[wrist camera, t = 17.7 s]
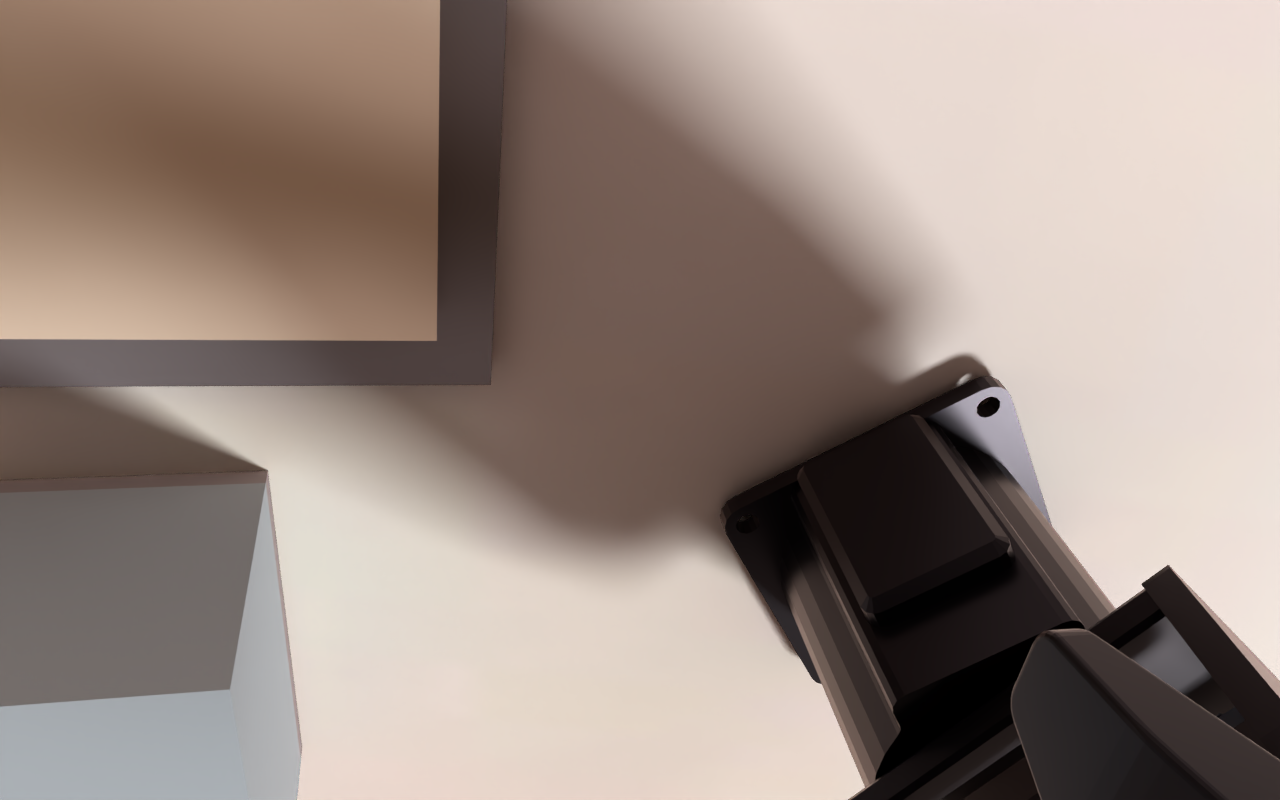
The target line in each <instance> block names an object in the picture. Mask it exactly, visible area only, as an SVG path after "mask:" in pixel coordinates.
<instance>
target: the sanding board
mask: <svg viewBox="0 0 1280 800" xmlns="http://www.w3.org/2000/svg"><path fill="white" fill-rule="evenodd" d="M506 12H507V0H0V387H111V386H323V385H491V364H492V341H493V317H494V294H495V270H496V247H497V223H498V200H499V176H500V153H501V129H502V106H503V82H504V59H505V35H506Z"/></svg>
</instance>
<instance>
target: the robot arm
mask: <svg viewBox="0 0 1280 800" xmlns="http://www.w3.org/2000/svg"><path fill="white" fill-rule="evenodd" d="M988 397H990V399H989V401H988V402H986V403H985V404H984V405H982V406H978V405H979V403H980V402H981V401H982V400H984V399H985V398H988ZM746 515H752V517H750V518H749V519H748V520H745V521H738V520H739V519H740V518H742V517H743V516H746ZM720 518H721V521H722V524H723V527H724V529H725V532H726V535H727V536H728V538H729V540H730V541H731V543H732V545H733V546H734V548H735V550H736V551H737V553H738V555H739V556H740V558H741V560H742V561H743V563H744V565H745V566H746V568H747V570H748V572H749V573H750V575H751V577H752V578H753V580H754V582H755V583H756V585H757V587H758V588H759V590H760V592H761V593H762V595H763V597H764V598H765V600H766V602H767V603H768V605H769V607H770V608H771V610H772V612H773V613H774V615H775V617H776V618H777V620H778V622H779V624H780V625H781V627H782V629H783V630H784V632H785V634H786V635H787V637H788V639H789V640H790V642H791V644H792V645H793V647H794V649H795V650H796V652H797V654H798V655H799V657H800V659H801V660H802V662H803V664H804V665H805V667H806V669H807V671H808V672H809V674H810V676H811V677H812V679H813V680H814V681H815V682H817V683H820V684H822V685H823V688H824V690H825V693H826V695H827V697H828V700H829V702H830V704H831V707H832V709H833V712H834V714H835V716H836V719H837V721H838V723H839V726H840V728H841V731H842V733H843V735H844V738H845V740H846V743H847V745H848V747H849V750H850V752H851V754H852V757H853V759H854V762H855V764H856V766H857V769H858V771H859V773H860V776H861V778H862V781H863V783H864V785H865V788H864V789H862V790H861V791H860V792H858V793H857V794H855V795H854V796H853V797H851V798H850V799H848V800H1280V681H1279V680H1278V679H1277V678H1276V676H1275V675H1274V674H1273V673H1272V672H1271V671H1270V670H1269V669H1268V668H1267V667H1266V666H1265V665H1264V664H1263V663H1262V662H1261V661H1260V660H1259V659H1258V658H1257V656H1256V655H1255V654H1254V653H1253V652H1252V651H1251V650H1250V649H1249V648H1248V647H1247V646H1246V645H1245V644H1244V643H1243V642H1242V641H1241V640H1240V639H1239V638H1238V637H1237V636H1236V635H1235V634H1234V633H1233V632H1232V630H1231V629H1230V628H1229V627H1228V626H1227V625H1226V624H1225V623H1224V622H1223V621H1222V620H1221V619H1220V618H1219V617H1218V616H1217V615H1216V614H1215V613H1214V612H1213V611H1212V610H1211V609H1210V608H1209V607H1208V605H1207V604H1206V603H1205V602H1204V601H1203V600H1202V599H1201V598H1200V597H1199V596H1198V595H1197V594H1196V593H1195V592H1194V591H1193V590H1192V589H1191V588H1190V587H1189V586H1188V585H1187V584H1186V583H1185V582H1184V581H1183V579H1182V578H1181V577H1180V576H1179V575H1178V574H1177V573H1176V572H1175V571H1174V570H1173V569H1172V568H1171V567H1170V566H1169V565H1167V566H1166V567H1164V568H1163V569H1162V570H1160V571H1159V572H1157V573H1156V574H1155V575H1153V576H1152V577H1150V578H1149V579H1148V580H1146V581H1145V582H1143V583H1142V586H1143V587H1144V588H1145V589H1143V590H1142V591H1141V592H1139V593H1138V594H1136V595H1135V596H1134V597H1132V598H1131V599H1129V600H1128V601H1127V602H1125V603H1124V604H1122V605H1121V606H1120V607H1118V608H1117V609H1115V607H1114V606H1113V605H1112V603H1111V602H1110V601H1109V600H1108V598H1107V597H1106V596H1105V594H1104V593H1103V592H1102V590H1101V589H1100V588H1099V587H1098V585H1097V584H1096V583H1095V581H1094V580H1093V579H1092V577H1091V576H1090V575H1089V574H1088V572H1087V571H1086V570H1085V568H1084V567H1083V566H1082V565H1081V563H1080V562H1079V561H1078V559H1077V558H1076V557H1075V555H1074V554H1073V553H1072V552H1071V550H1070V549H1069V548H1068V546H1067V545H1066V544H1065V542H1064V541H1063V540H1062V539H1061V537H1060V536H1059V535H1058V533H1057V532H1056V531H1055V529H1054V528H1053V527H1052V525H1051V522H1050V518H1049V515H1048V512H1047V509H1046V506H1045V502H1044V499H1043V496H1042V493H1041V490H1040V487H1039V483H1038V480H1037V477H1036V474H1035V471H1034V468H1033V464H1032V461H1031V458H1030V455H1029V452H1028V449H1027V445H1026V442H1025V439H1024V436H1023V433H1022V430H1021V426H1020V423H1019V420H1018V417H1017V414H1016V411H1015V407H1014V404H1013V401H1012V398H1011V395H1010V394H1009V392H1008V391H1007V390H1006V389H1005V387H1004V386H1003V385H1002V384H1001V383H1000V381H999V380H997V379H995V378H993V377H984V376H983V377H980V378H977V379H974V380H972V381H970V382H968V383H966V384H963V385H961V386H959V387H957V388H955V389H953V390H951V391H949V392H947V393H945V394H943V395H941V396H939V397H937V398H935V399H933V400H931V401H929V402H927V403H925V404H923V405H921V406H919V407H917V408H914V409H912V410H910V411H908V412H906V413H904V414H902V415H900V416H898V417H896V418H894V419H892V420H890V421H888V422H886V423H884V424H882V425H880V426H878V427H876V428H874V429H872V430H870V431H868V432H865V433H863V434H861V435H859V436H857V437H855V438H853V439H851V440H849V441H847V442H845V443H843V444H841V445H839V446H837V447H835V448H833V449H831V450H829V451H827V452H825V453H823V454H821V455H819V456H816V457H814V458H812V459H810V460H808V461H806V462H804V463H802V464H800V465H798V466H796V467H794V468H792V469H790V470H788V471H786V472H784V473H782V474H780V475H778V476H776V477H774V478H772V479H770V480H768V481H765V482H763V483H761V484H759V485H757V486H755V487H753V488H751V489H749V490H747V491H745V492H743V493H741V494H739V495H737V496H735V497H733V498H732V499H730V500H729V501H727V502H726V504H725V505H724V506H723V508H722V510H721V514H720Z"/></svg>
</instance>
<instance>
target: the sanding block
mask: <svg viewBox="0 0 1280 800" xmlns="http://www.w3.org/2000/svg"><path fill="white" fill-rule="evenodd" d="M301 753H302V742H301V734H300V725H299V717H298V709H297V701H296V693H295V685H294V677H293V669H292V661H291V653H290V645H289V637H288V629H287V621H286V613H285V604H284V596H283V588H282V580H281V572H280V564H279V556H278V548H277V540H276V532H275V524H274V516H273V508H272V500H271V492H270V483H269V475H268V471H243V472H216V473H188V474H161V475H133V476H106V477H78V478H51V479H24V480H0V800H297V795H298V784H299V774H300V764H301Z"/></svg>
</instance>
